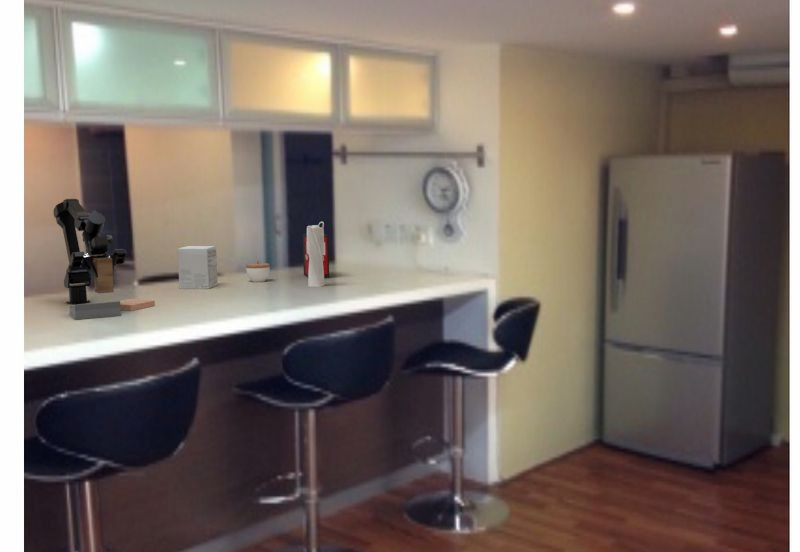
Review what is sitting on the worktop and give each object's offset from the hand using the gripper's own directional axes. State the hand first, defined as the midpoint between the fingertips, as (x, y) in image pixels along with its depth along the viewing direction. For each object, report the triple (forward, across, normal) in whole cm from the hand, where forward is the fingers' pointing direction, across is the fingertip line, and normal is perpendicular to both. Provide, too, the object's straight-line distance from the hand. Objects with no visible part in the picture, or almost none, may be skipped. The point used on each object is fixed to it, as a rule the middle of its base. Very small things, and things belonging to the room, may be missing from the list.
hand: (104, 276), depth 292 cm
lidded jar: (-22, +83, +42) cm, 95 cm away
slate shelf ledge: (+10, -4, +10) cm, 14 cm away
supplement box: (-22, +54, +42) cm, 72 cm away
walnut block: (+3, 0, +5) cm, 6 cm away
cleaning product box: (-19, +112, +39) cm, 120 cm away
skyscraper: (+1, +95, +19) cm, 96 cm away
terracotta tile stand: (+3, +12, +16) cm, 20 cm away
